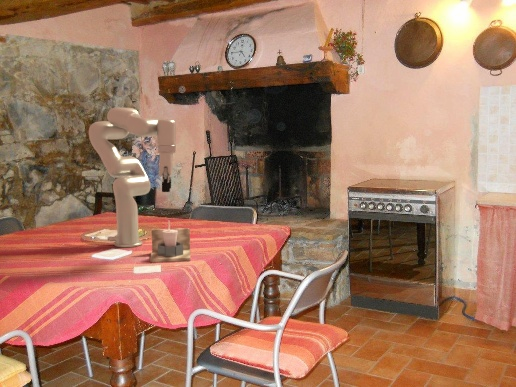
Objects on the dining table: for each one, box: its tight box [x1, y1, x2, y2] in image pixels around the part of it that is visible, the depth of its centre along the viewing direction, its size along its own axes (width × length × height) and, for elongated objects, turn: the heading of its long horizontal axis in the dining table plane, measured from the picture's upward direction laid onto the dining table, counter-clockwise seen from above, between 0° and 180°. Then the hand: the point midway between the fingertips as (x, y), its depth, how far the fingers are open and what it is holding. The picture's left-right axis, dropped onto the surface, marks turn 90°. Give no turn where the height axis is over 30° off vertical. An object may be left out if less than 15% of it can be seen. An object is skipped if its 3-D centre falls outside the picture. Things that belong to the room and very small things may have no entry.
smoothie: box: [162, 220, 178, 247], centre depth 215 cm, size 6×6×14 cm
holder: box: [149, 227, 191, 263], centre depth 216 cm, size 16×16×10 cm
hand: (166, 190), depth 219 cm, fingers open, 9 cm apart
